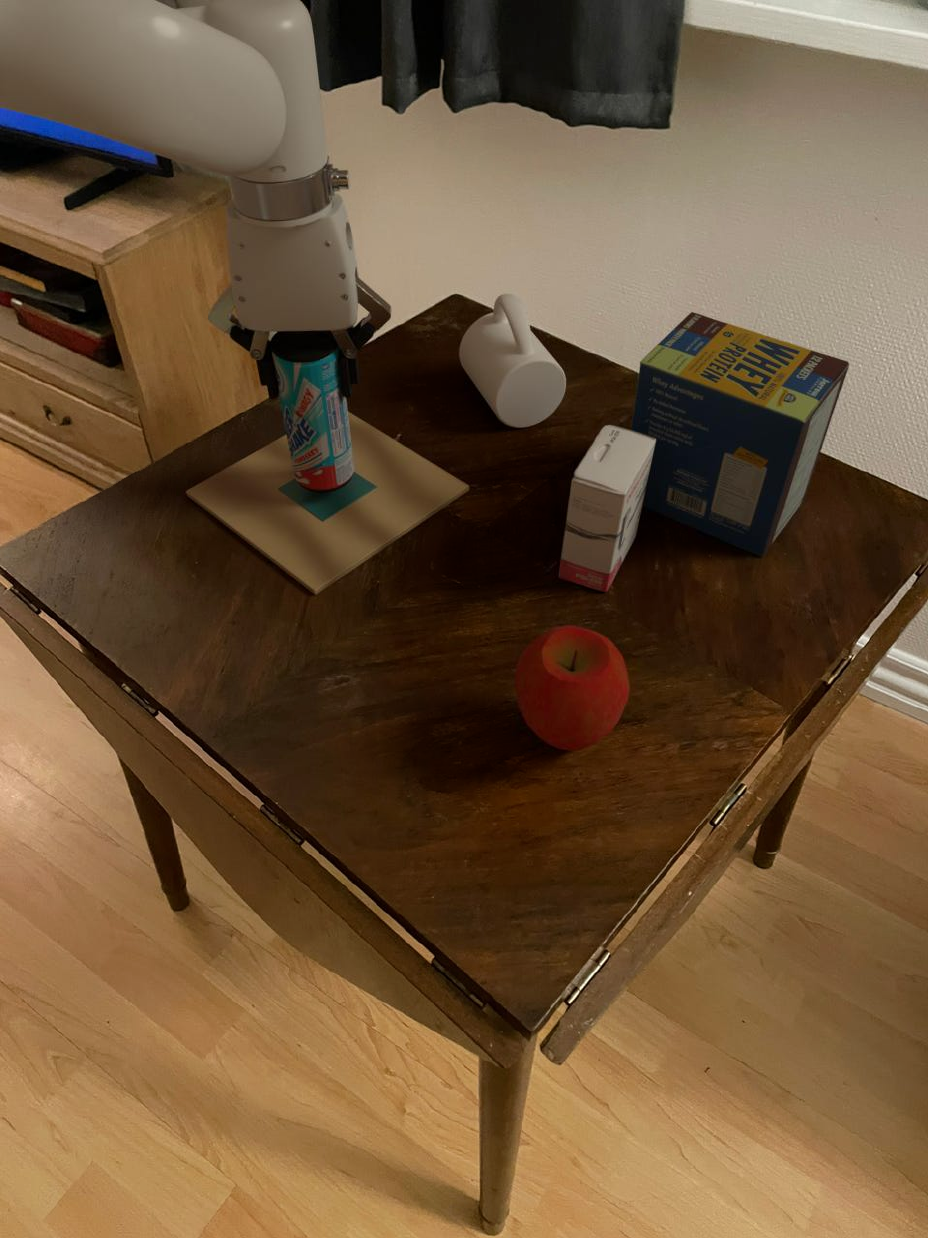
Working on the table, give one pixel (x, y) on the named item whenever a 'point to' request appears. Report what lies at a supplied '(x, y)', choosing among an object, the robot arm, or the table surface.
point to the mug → (512, 365)
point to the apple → (571, 686)
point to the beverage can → (313, 408)
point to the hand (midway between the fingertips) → (311, 388)
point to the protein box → (733, 428)
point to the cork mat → (327, 505)
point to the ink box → (605, 506)
